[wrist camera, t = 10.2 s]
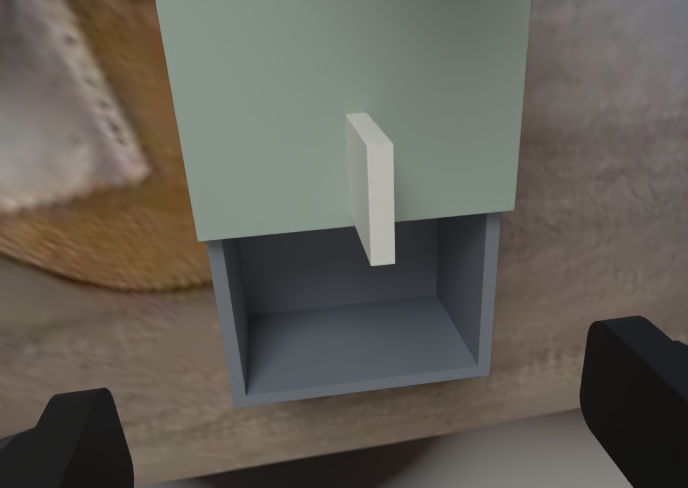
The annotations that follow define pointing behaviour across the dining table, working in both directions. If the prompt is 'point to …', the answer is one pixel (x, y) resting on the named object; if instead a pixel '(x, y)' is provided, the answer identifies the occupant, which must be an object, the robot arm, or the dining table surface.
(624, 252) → the dining table surface
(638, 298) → the dining table surface
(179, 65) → the lid
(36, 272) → the dining table surface
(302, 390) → the carton
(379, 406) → the dining table surface
